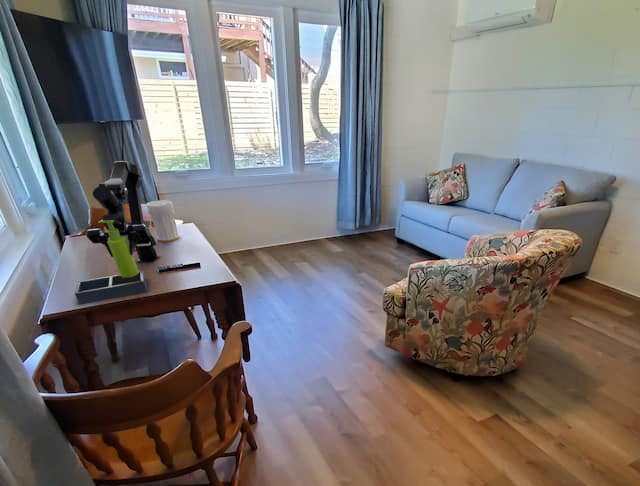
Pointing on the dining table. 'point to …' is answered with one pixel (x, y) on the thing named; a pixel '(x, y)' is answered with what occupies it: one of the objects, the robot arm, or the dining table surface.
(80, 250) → the dining table surface
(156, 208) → the white upright cylinder
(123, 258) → the soap dispenser
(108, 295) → the divided storage box
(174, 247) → the dining table surface
